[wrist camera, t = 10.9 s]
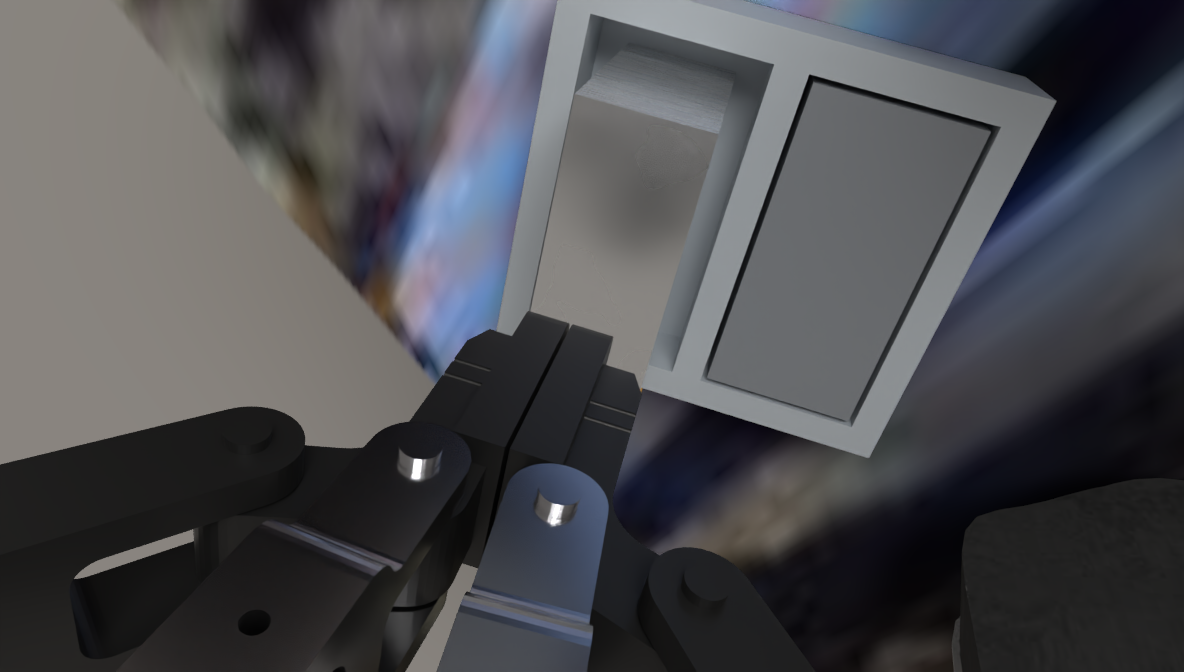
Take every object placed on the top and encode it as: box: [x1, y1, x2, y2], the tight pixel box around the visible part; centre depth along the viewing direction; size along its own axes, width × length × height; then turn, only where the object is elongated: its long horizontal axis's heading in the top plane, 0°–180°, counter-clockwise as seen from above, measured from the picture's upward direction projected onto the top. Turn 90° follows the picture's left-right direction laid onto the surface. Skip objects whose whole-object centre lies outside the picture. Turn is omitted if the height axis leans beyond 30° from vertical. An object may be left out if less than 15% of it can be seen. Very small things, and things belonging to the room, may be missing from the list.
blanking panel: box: [531, 42, 736, 389], centre depth 19 cm, size 7×3×6 cm, turn 168°
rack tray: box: [496, 0, 1056, 458], centre depth 21 cm, size 11×11×3 cm
